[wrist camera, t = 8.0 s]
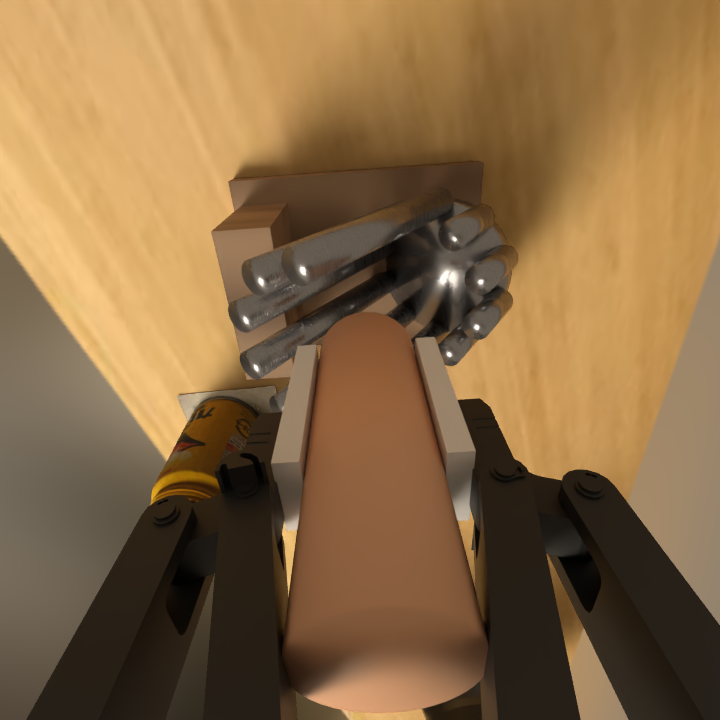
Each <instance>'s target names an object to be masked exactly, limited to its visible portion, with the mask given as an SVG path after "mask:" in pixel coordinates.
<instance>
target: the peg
mask: <svg viewBox="0 0 720 720" xmlns="http://www.w3.org/2000/svg"><path fill="white" fill-rule="evenodd" d="M488 646H489V644H488V638H487V634H486V630H485V626H484V622H483V619H482V615H481V611H480V607H479V603H478V599H477V595H476V591H475V587H474V583H473V579H472V576H471V572H470V568H469V564H468V560H467V556H466V552H465V548H464V544H463V540H462V536H461V533H460V529H459V525H458V521H457V517H456V513H455V509H454V505H453V501H452V497H451V493H450V490H449V486H448V482H447V478H446V474H445V470H444V466H443V462H442V458H441V454H440V451H439V447H438V443H437V439H436V435H435V431H434V427H433V423H432V419H431V415H430V411H429V408H428V404H427V400H426V396H425V392H424V388H423V384H422V380H421V376H420V372H419V368H418V365H417V361H416V357H415V353H414V349H413V345H412V341H411V339H410V336H409V334H408V333H407V331H406V330H405V329H404V327H403V326H402V325H401V324H400V323H398V322H397V321H396V320H394V319H392V318H391V317H389V316H386V315H383V314H379V313H374V312H361V313H356V314H352V315H349V316H346V317H344V318H343V319H341V320H339V321H338V322H336V323H335V324H334V325H333V326H332V327H331V328H330V329H329V330H328V332H327V333H326V335H325V337H324V339H323V341H322V345H321V351H320V359H319V367H318V374H317V382H316V390H315V397H314V405H313V413H312V420H311V428H310V436H309V444H308V451H307V459H306V467H305V474H304V482H303V490H302V497H301V505H300V513H299V521H298V528H297V536H296V544H295V551H294V559H293V567H292V574H291V582H290V590H289V598H288V605H287V613H286V621H285V628H284V636H283V644H282V658H283V661H284V665H285V668H286V671H287V674H288V677H289V681H290V684H291V687H292V688H293V689H294V690H296V691H297V692H298V693H300V694H301V695H303V696H305V697H306V698H308V699H310V700H312V701H315V702H317V703H320V704H323V705H326V706H329V707H333V708H337V709H341V710H347V711H353V712H363V713H394V712H404V711H412V710H417V709H422V708H427V707H430V706H434V705H437V704H440V703H443V702H446V701H448V700H451V699H453V698H455V697H457V696H459V695H461V694H463V693H465V692H466V691H468V690H469V689H471V688H472V687H474V686H475V685H476V684H477V683H478V682H479V681H480V680H481V679H482V678H483V676H484V670H485V664H486V658H487V652H488Z"/></svg>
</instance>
